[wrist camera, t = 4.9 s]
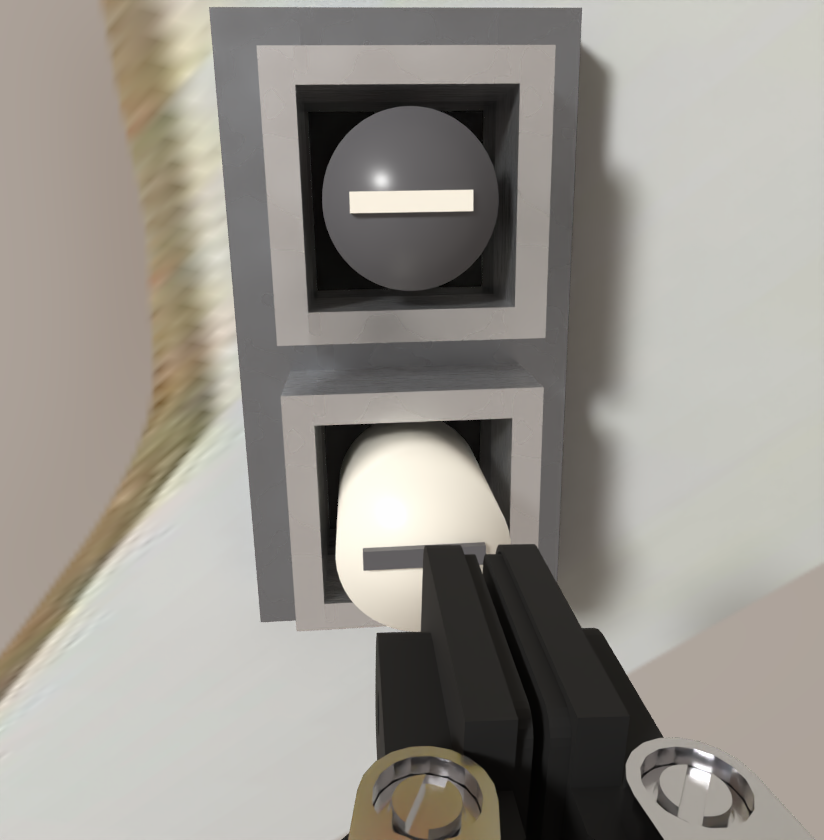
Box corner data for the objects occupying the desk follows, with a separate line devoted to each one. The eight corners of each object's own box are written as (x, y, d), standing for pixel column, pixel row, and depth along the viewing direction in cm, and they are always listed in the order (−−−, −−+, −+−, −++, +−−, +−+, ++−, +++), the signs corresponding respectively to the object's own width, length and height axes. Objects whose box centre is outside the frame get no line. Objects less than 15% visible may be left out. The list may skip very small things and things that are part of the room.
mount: (561, 26, 26) (621, -27, 20) (541, 576, 33) (583, 659, 27) (222, 26, 26) (183, -29, 20) (267, 590, 32) (248, 679, 26)
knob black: (468, 127, 27) (502, 104, 21) (468, 272, 28) (498, 289, 22) (325, 128, 26) (317, 105, 20) (332, 275, 28) (326, 294, 22)
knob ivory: (478, 412, 27) (515, 470, 21) (477, 541, 28) (510, 631, 22) (336, 416, 26) (331, 478, 21) (342, 548, 28) (339, 641, 22)
